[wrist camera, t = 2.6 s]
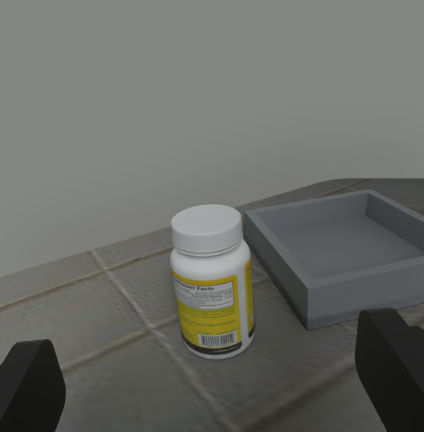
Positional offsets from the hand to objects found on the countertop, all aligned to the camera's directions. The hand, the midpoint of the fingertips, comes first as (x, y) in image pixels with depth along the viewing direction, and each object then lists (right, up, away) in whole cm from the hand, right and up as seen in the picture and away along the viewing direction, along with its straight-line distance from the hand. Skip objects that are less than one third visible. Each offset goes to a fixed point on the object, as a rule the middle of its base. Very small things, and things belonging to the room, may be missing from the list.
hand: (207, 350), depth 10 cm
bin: (+11, 0, +21) cm, 24 cm away
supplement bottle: (+1, -4, +14) cm, 15 cm away
